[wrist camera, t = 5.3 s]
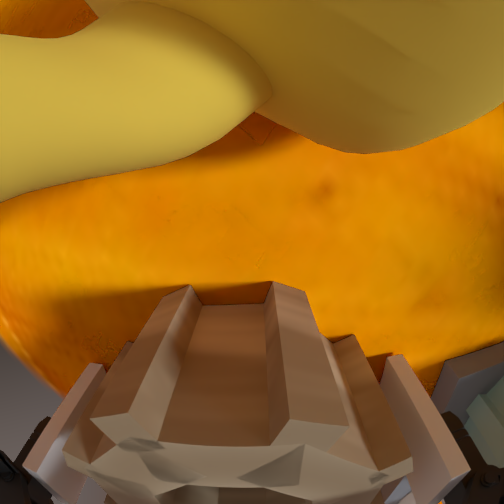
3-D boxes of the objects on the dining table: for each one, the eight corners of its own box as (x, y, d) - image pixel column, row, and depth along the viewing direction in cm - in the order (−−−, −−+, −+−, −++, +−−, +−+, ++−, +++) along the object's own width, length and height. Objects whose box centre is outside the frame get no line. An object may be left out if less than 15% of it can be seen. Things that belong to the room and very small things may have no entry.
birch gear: (103, 286, 10) (7, 381, 4) (371, 274, 10) (464, 382, 4) (160, 445, 13) (136, 530, 7) (340, 442, 13) (361, 531, 7)
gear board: (448, 352, 11) (537, 475, 3) (566, 307, 11) (630, 359, 2) (363, 512, 17) (376, 577, 9) (473, 471, 17) (496, 520, 9)
